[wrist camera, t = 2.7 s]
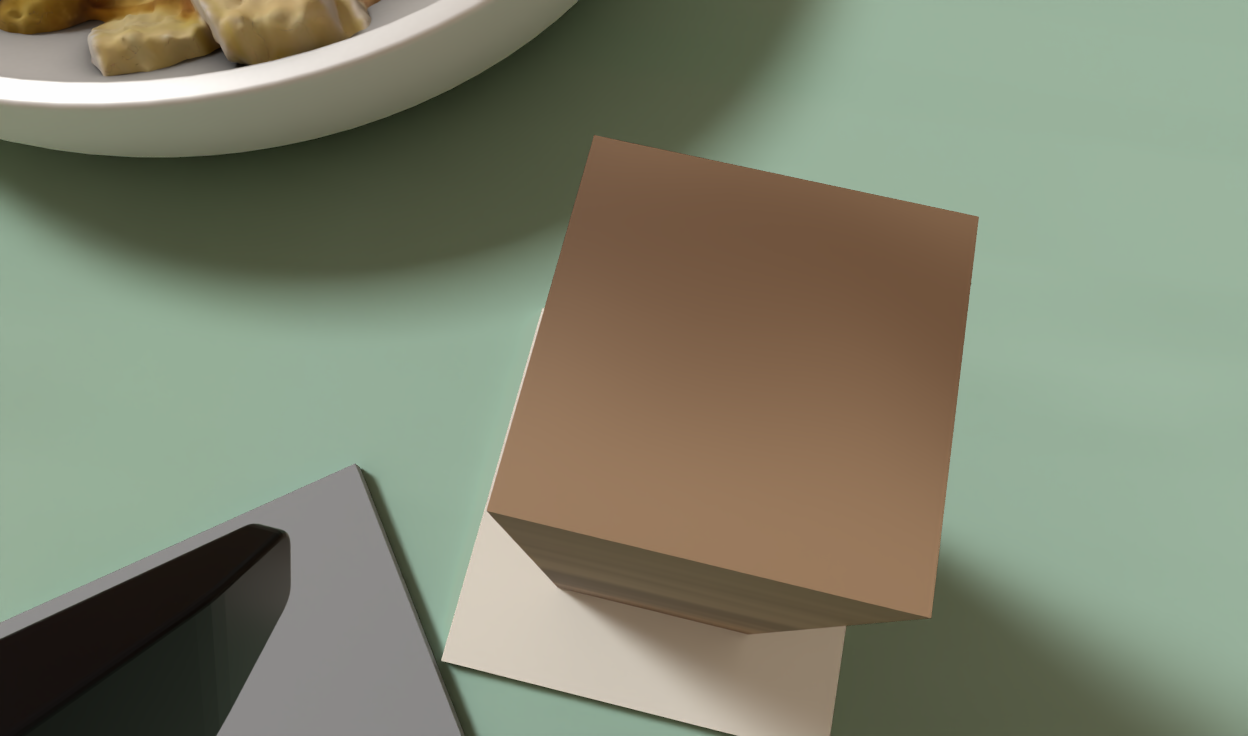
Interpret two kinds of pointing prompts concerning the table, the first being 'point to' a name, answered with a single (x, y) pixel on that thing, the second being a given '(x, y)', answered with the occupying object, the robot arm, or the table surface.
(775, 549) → the walnut block
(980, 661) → the table surface
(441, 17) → the bowl
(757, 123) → the table surface
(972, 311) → the table surface
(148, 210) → the table surface
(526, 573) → the tile
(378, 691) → the rest mat
